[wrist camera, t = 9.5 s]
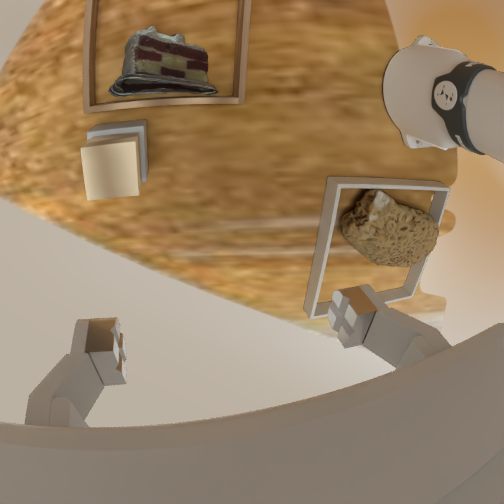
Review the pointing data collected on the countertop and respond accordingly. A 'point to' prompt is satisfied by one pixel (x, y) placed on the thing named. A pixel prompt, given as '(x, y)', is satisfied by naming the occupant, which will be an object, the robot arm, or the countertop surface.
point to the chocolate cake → (162, 66)
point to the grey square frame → (327, 228)
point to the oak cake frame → (91, 107)
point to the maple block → (112, 166)
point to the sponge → (389, 230)
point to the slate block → (126, 128)
